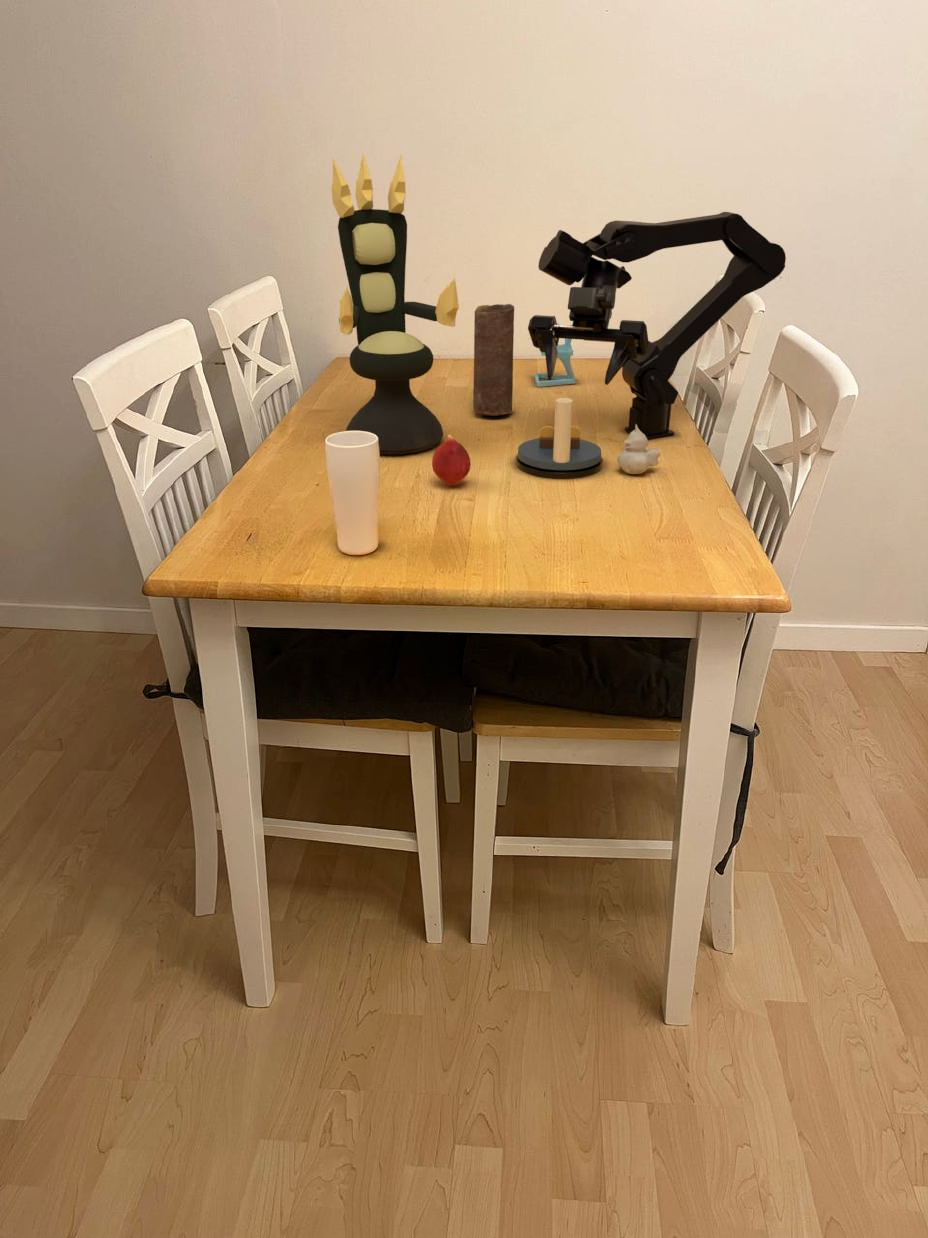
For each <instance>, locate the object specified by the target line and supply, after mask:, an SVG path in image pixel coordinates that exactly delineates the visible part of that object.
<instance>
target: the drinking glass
mask: <svg viewBox="0 0 928 1238" xmlns="http://www.w3.org/2000/svg"><path fill="white" fill-rule="evenodd" d="M324 443H325V444H324V449H325V451H324V452H325V453H324V455H325V467H326V475H327V482H328V488H329V493H330V500H331V506H332V512H333V518H334V525H335V532H336V542H337V547H338V549H339V551H340V552H341V553H343V554H346V555H349V556H364V555H368V554H371V553H373V552H374V551H376V550H377V548H378V546H379V512H380V511H379V509H380V485H381V484H380V483H381V454H380V452H379V442H378V437H377V436H376V435H375V434H373V433H370V432H365V431H346V430H344V431H339V432H335V433H331V434H330V435H328V436H327V437H326V438H325V439H324Z"/></svg>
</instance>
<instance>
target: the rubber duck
mask: <svg viewBox="0 0 928 1238" xmlns="http://www.w3.org/2000/svg"><path fill="white" fill-rule="evenodd" d="M623 443H624V444H625V448H624V449H623V450H622V451H621V452H620V453H619V455H618V456H617V463H618V466H619V468H621V470H622V471H624V472H625V473H626V474H629V475H641V474H643V473H645V472H646V471H647V470H648V469H649V468H650V467H656V466H658V465H659V457H660V456H661V451H660V449H658V448H649V449H647V448H648V446H649V439H647V438H646V436H645V435H644V434H643V433H642V432H641V431H640V430H639V429H638V427H637V425H635V430H634V431H632V432H631V433H630V432H629V435H628V437H627V438H626V439H625V440H624V441H623Z"/></svg>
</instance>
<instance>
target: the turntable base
mask: <svg viewBox="0 0 928 1238" xmlns="http://www.w3.org/2000/svg"><path fill="white" fill-rule="evenodd" d="M603 461H604V460H603V457H602V456H601V460H600V461H599V462H598V463H597V464H595V465H593V466H591V467H587V468H583V469H577V470H549V469H542V468H537V467H533V466H530V465H527V464H525V463H523V462H522V461H521V460H520V459H519V458H518V454H516V456H515V466H516V467H517V468H518V469H519V470H520V471H521V472H524V473H526V474H528V475H531V476H535V477H539V478H543V479H544V478H545V479H554V480H557V479H558V480H560V479H561V480H568V479H578V478H584V477H588V476H592V475H594V474H597V473H598V472H600V471H601V470H602V468H603V463H604V462H603Z"/></svg>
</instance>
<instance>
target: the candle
mask: <svg viewBox="0 0 928 1238" xmlns="http://www.w3.org/2000/svg"><path fill="white" fill-rule="evenodd" d="M473 323H474V326H473V327H474V332H473V333H474V334H473V356H474V357H473V388H472V389H473V390H472V392H473V394H472V395H473V396H472V398H473V400H472V402H473V403H472V407H473V411H474V413H475V414H476V415H478V416H485V417H486V416H487V417H497V416H504V415H510V414H512V412H513V397H514V396H513V394H514V393H513V391H514V389H513V388H514V387H513V386H514V376H513V375H514V334H515V305H513V304H511V303H506V304H503V303H501V304H491V305H490V304H483V305H482V304H481V305H478V306H477V307H476V308H475V310H474V322H473Z"/></svg>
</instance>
